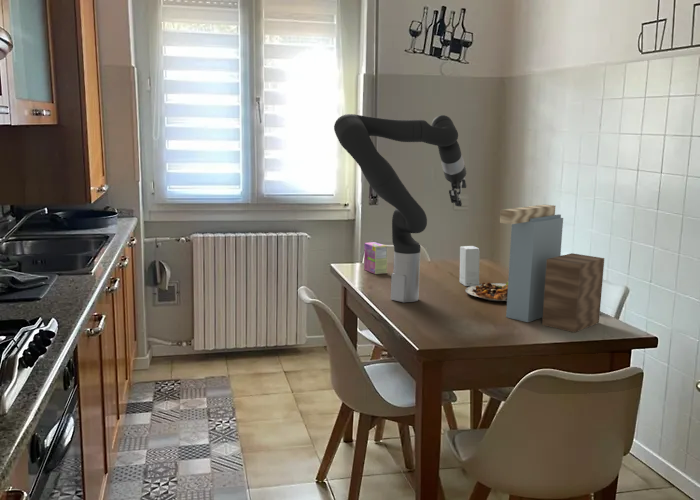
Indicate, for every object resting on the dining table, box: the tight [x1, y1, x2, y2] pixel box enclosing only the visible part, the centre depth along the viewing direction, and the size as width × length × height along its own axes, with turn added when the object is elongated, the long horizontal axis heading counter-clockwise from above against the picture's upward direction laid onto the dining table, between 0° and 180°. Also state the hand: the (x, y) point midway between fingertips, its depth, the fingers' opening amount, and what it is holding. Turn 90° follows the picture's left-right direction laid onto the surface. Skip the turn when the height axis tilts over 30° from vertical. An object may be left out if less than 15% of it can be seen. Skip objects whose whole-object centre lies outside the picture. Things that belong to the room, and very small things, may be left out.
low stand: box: [541, 252, 605, 333], centre depth 219 cm, size 16×11×21 cm
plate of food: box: [465, 281, 508, 302], centre depth 256 cm, size 28×28×6 cm
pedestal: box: [505, 214, 564, 323], centre depth 228 cm, size 18×8×33 cm, turn 135°
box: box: [363, 241, 388, 275], centre depth 294 cm, size 10×6×12 cm, turn 25°
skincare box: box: [459, 245, 481, 287], centre depth 273 cm, size 8×6×15 cm
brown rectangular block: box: [499, 204, 556, 225], centre depth 220 cm, size 26×4×4 cm, turn 135°
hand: (461, 196), depth 250 cm, fingers open, 8 cm apart
